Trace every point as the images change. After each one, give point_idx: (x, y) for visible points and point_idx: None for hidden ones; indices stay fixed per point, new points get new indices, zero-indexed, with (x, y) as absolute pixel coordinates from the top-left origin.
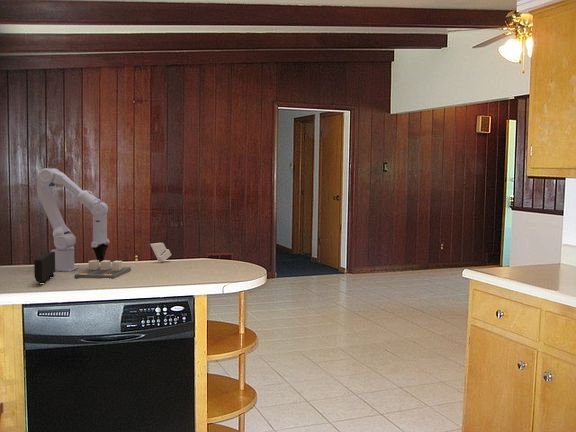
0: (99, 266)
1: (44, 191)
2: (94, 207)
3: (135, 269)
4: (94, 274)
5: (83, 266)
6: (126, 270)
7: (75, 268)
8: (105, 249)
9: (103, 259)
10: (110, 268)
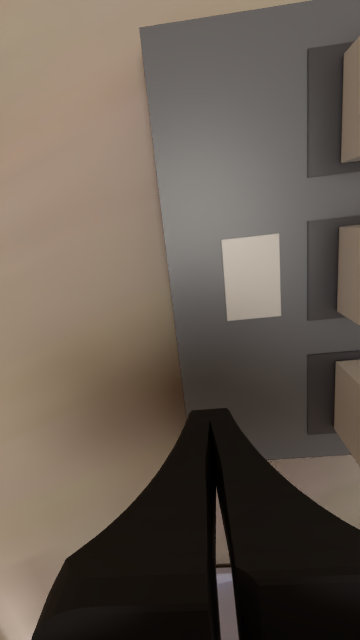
0: None
1: None
2: None
3: (50, 32)
4: None
5: None
6: (315, 9)
7: (226, 572)
8: (204, 521)
9: (205, 419)
10: (354, 225)
